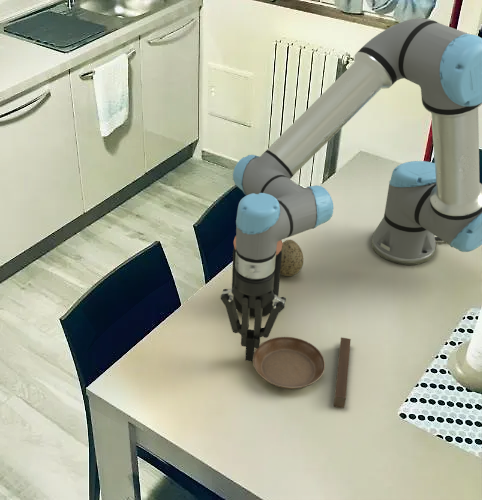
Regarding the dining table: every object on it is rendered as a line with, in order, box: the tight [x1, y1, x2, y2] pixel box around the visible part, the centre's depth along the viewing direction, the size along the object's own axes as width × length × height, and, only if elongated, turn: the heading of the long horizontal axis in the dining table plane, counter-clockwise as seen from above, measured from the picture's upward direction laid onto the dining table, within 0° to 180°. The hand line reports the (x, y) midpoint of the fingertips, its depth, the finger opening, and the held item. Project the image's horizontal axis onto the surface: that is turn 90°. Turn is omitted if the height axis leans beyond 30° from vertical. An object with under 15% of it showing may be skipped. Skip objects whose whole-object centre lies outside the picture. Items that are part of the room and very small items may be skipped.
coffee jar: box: [231, 235, 283, 318], centre depth 163 cm, size 11×11×18 cm
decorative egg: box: [280, 239, 305, 277], centre depth 174 cm, size 7×7×10 cm
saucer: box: [252, 336, 326, 390], centre depth 151 cm, size 15×15×3 cm
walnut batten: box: [333, 336, 352, 409], centre depth 148 cm, size 2×17×3 cm, turn 164°
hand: (249, 356), depth 152 cm, fingers closed
